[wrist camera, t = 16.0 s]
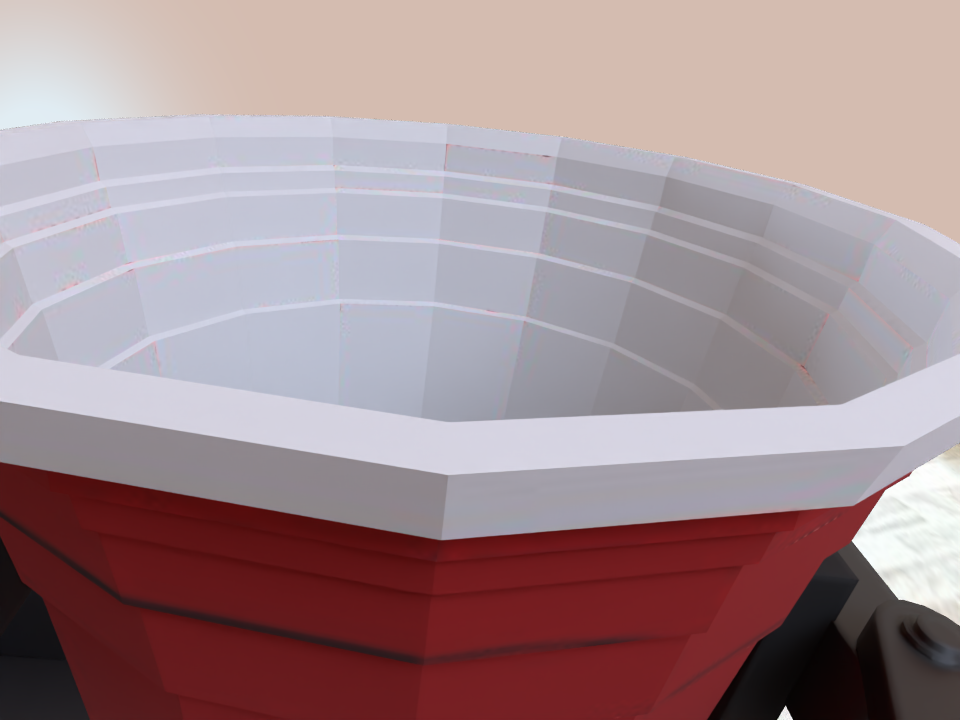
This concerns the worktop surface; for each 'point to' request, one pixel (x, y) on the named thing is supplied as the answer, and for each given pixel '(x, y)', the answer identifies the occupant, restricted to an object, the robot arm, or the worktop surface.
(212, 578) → the plastic cup
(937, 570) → the worktop surface
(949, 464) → the worktop surface
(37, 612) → the dark grey tray
